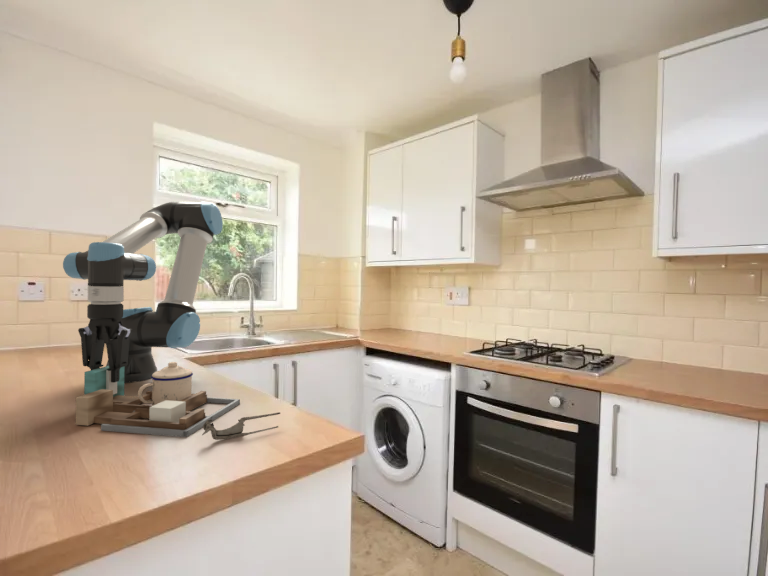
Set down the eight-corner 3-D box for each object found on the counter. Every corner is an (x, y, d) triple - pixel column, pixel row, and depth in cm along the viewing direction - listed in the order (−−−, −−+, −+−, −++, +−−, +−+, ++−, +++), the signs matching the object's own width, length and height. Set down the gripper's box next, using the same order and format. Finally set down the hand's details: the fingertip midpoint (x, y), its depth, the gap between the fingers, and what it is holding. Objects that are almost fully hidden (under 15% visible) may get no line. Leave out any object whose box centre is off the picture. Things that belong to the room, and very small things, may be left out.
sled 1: (117, 396, 106) (118, 363, 106) (206, 402, 102) (207, 368, 102) (79, 410, 94) (79, 373, 94) (178, 417, 91) (178, 379, 91)
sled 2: (103, 413, 92) (103, 388, 92) (205, 421, 89) (205, 395, 89) (73, 425, 84) (73, 398, 84) (184, 434, 81) (184, 405, 81)
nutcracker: (279, 428, 87) (279, 405, 87) (280, 429, 86) (281, 406, 86) (201, 445, 77) (201, 420, 77) (202, 446, 76) (202, 421, 76)
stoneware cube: (165, 422, 89) (165, 400, 89) (185, 423, 88) (185, 401, 88) (149, 430, 84) (149, 407, 84) (170, 431, 83) (170, 408, 83)
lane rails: (170, 399, 105) (171, 394, 105) (239, 403, 102) (239, 399, 102) (100, 430, 83) (101, 424, 83) (186, 437, 80) (186, 431, 80)
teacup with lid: (184, 400, 104) (184, 357, 103) (198, 408, 98) (198, 362, 97) (132, 411, 95) (132, 363, 95) (144, 420, 89) (144, 370, 88)
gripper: (63, 302, 96) (63, 396, 97) (123, 304, 95) (122, 400, 95) (89, 301, 104) (89, 388, 104) (145, 303, 102) (144, 391, 103)
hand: (104, 394), depth 100 cm, fingers closed on sled 1, 3 cm apart
